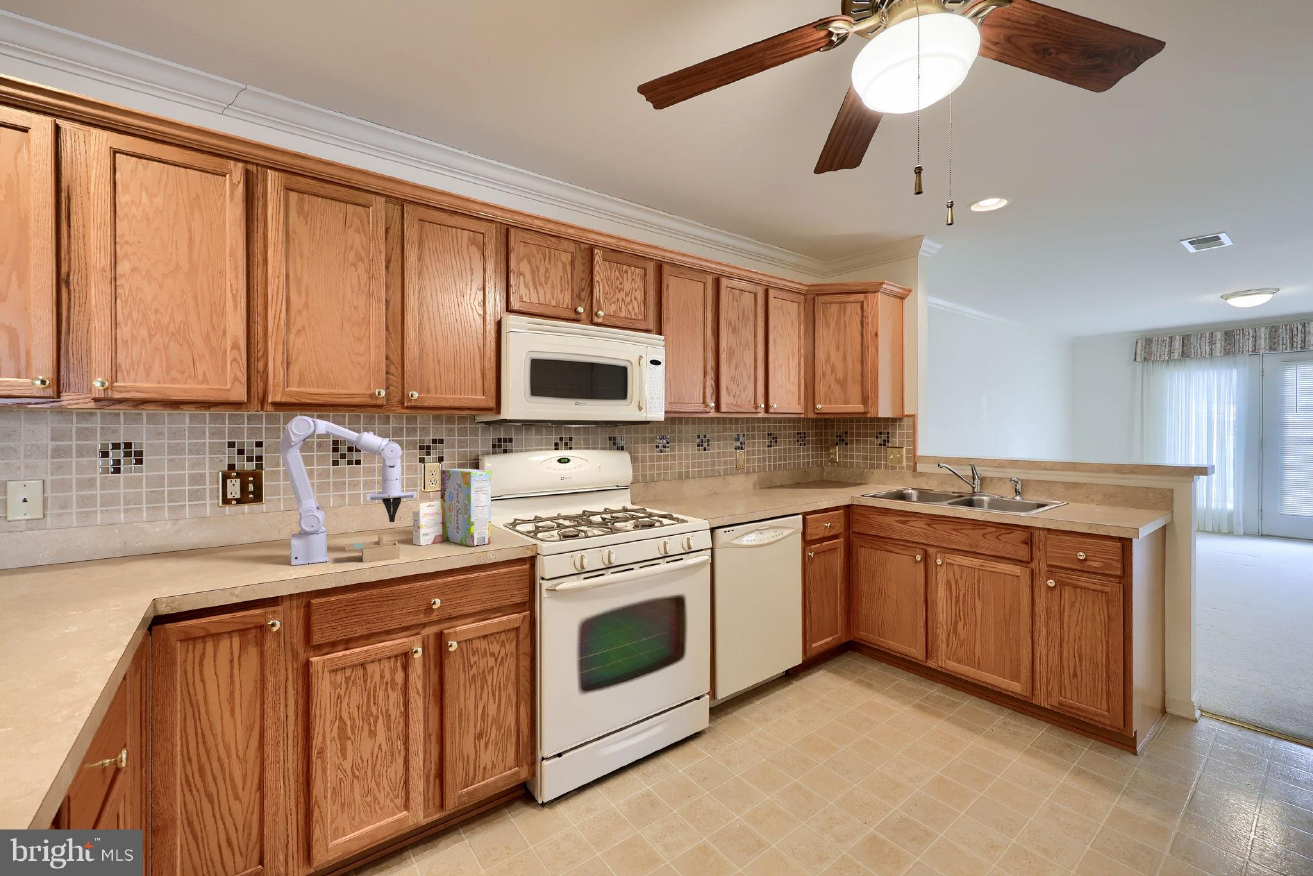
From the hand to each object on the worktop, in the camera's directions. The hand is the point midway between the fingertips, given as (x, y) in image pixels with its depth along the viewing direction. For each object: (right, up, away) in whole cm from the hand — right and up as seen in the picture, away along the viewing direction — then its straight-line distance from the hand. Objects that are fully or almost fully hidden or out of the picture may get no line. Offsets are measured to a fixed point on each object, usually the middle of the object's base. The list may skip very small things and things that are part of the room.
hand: (391, 521), depth 180 cm
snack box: (+17, -10, +19) cm, 28 cm away
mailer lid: (-5, -6, -8) cm, 11 cm away
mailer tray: (-1, -10, -5) cm, 12 cm away
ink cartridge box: (+5, -10, +16) cm, 20 cm away
